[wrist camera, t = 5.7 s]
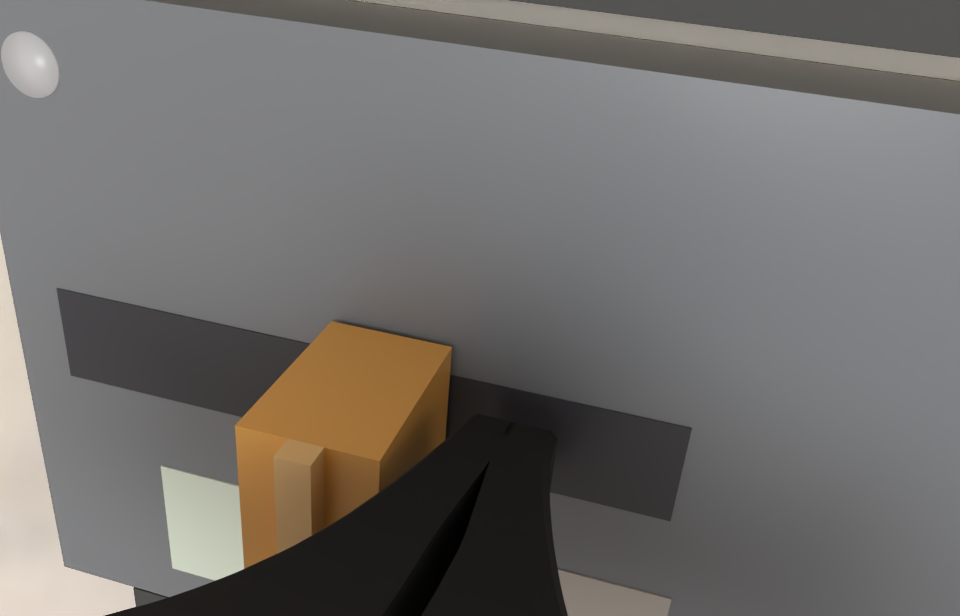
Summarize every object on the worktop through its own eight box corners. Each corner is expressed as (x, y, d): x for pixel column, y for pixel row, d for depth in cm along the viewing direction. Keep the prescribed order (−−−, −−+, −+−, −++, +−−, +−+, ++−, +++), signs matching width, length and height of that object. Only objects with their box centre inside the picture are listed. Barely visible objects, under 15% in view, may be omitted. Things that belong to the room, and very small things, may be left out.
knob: (441, 498, 15) (363, 653, 12) (331, 471, 16) (232, 614, 13) (451, 347, 14) (367, 480, 11) (331, 321, 14) (218, 442, 11)
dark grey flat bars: (786, 764, 19) (788, 847, 17) (186, 590, 21) (141, 647, 20) (1112, -105, 11) (1171, -99, 9) (102, -196, 14) (18, -203, 12)
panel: (891, 718, 17) (907, 816, 16) (122, 507, 21) (63, 568, 19) (1164, 108, 12) (1236, 154, 10) (43, -40, 15) (-53, -27, 13)
